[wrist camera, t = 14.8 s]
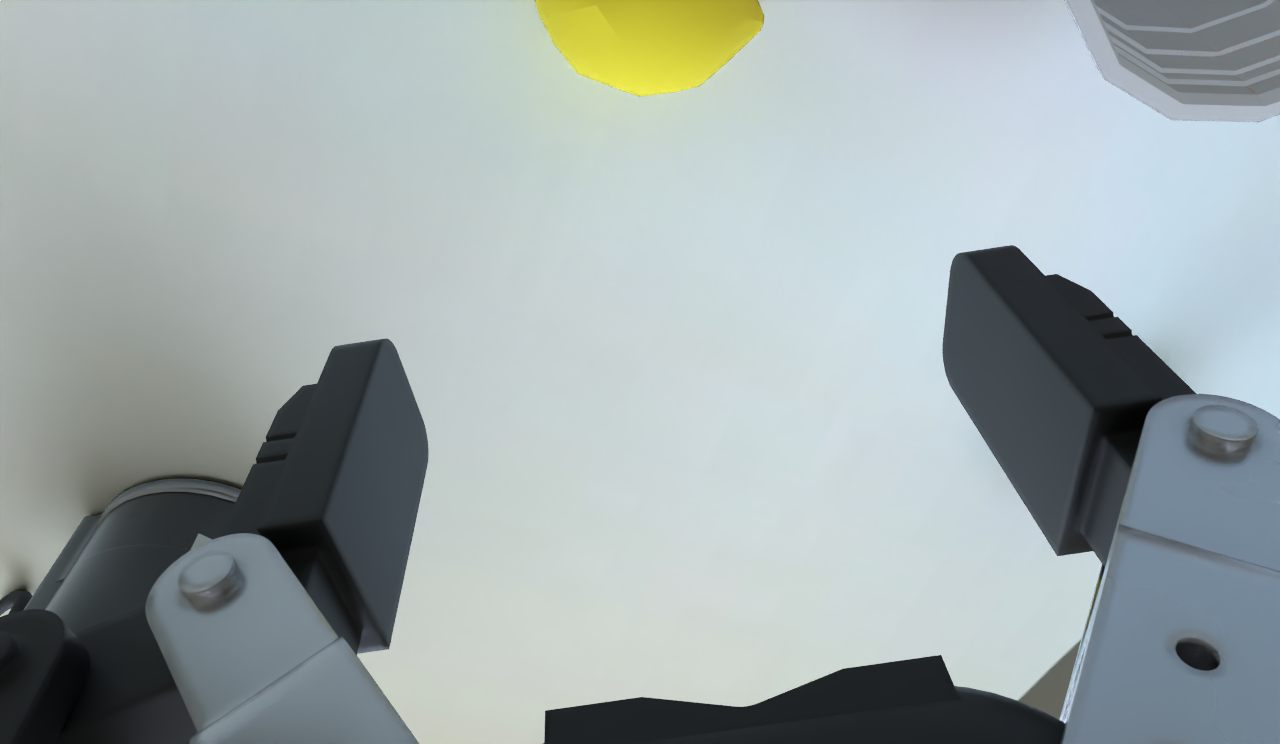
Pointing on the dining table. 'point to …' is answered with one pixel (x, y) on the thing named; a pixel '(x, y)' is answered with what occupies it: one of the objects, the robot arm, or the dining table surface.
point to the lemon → (650, 39)
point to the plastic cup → (1188, 54)
